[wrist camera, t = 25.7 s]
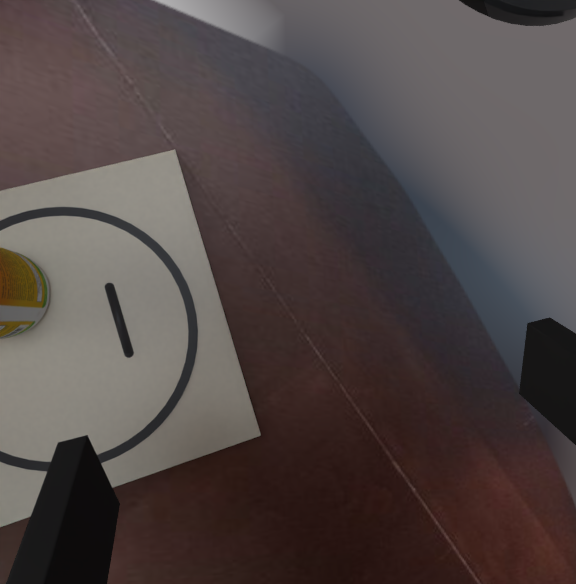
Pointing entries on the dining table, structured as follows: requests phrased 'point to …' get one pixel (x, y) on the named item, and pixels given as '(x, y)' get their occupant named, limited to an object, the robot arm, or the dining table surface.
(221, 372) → the face sheet
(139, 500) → the dining table surface
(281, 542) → the dining table surface
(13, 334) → the supplement bottle
